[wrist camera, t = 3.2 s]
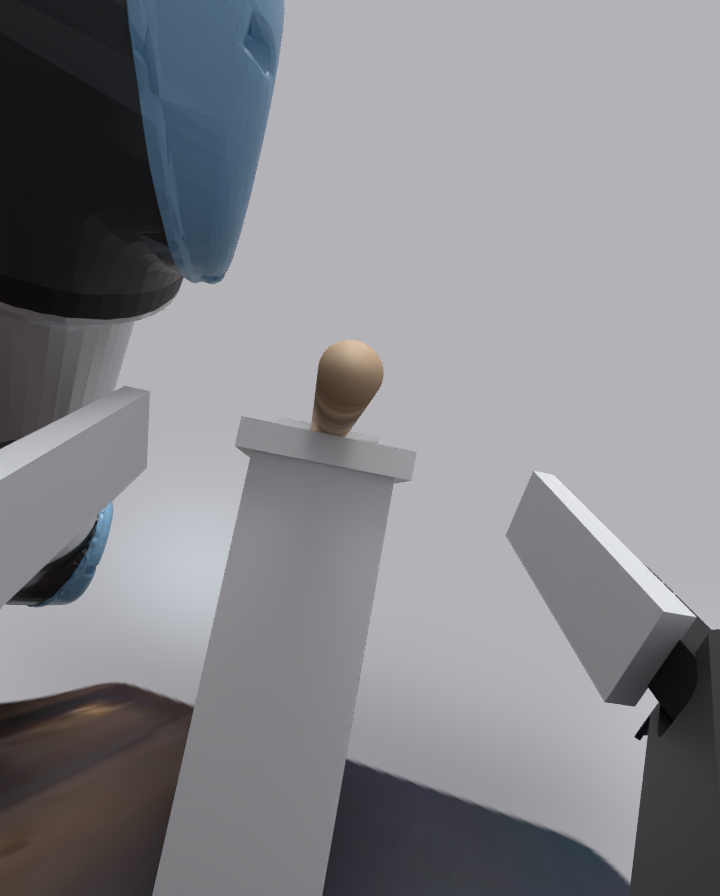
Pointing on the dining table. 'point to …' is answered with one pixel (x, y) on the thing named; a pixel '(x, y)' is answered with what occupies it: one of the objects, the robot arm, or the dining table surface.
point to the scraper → (343, 390)
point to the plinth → (281, 667)
